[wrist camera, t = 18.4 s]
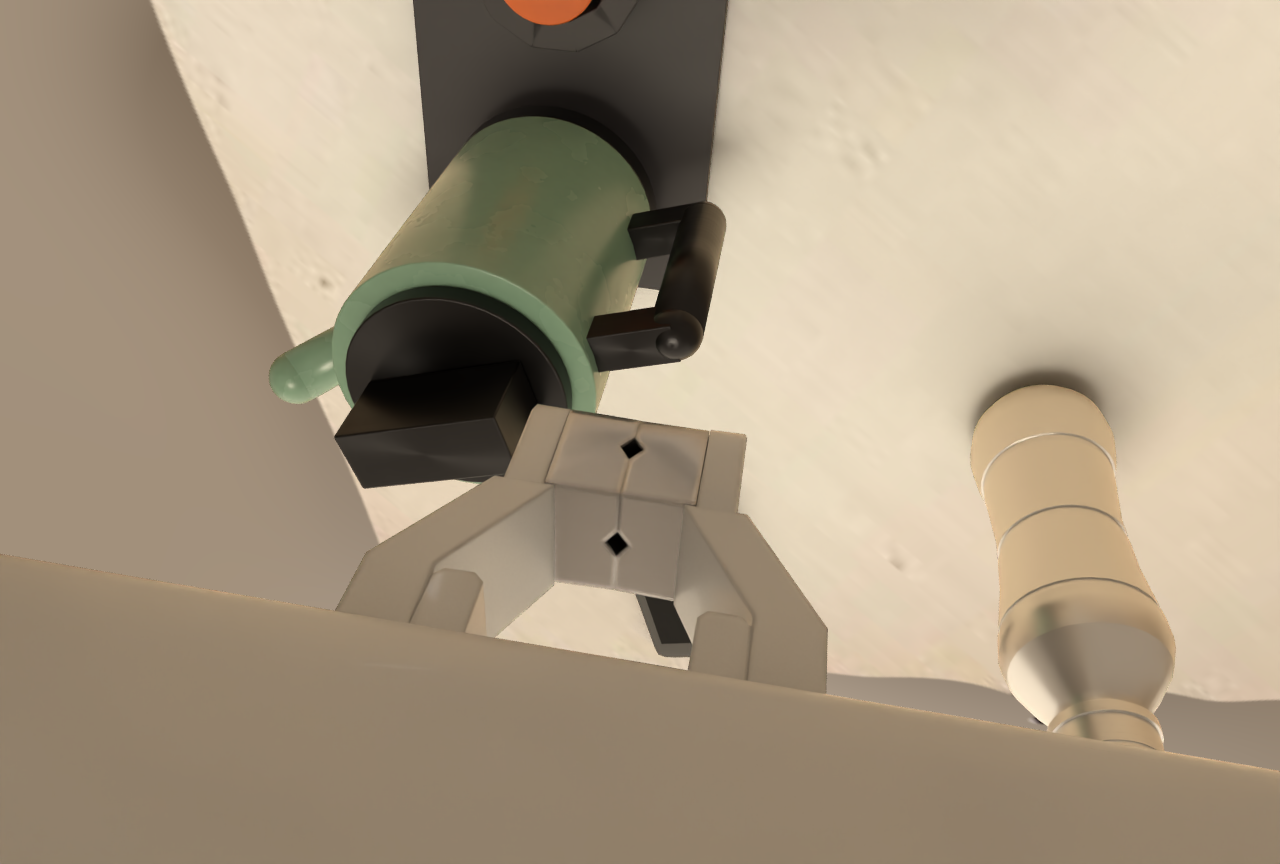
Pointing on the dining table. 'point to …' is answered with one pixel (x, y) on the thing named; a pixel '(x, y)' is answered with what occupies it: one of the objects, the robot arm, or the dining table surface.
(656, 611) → the cell phone
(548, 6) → the power button
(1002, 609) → the silver tall bottle
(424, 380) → the kettle
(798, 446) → the dining table surface
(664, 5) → the button base
